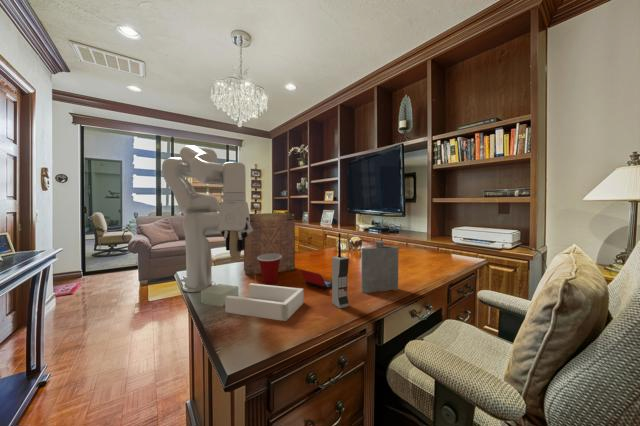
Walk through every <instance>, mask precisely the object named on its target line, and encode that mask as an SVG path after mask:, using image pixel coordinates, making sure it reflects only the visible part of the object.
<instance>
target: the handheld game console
mask: <svg viewBox="0 0 640 426" xmlns="http://www.w3.org/2000/svg"><path fill="white" fill-rule="evenodd" d="M300 273H301V275H302V277H303V279H304V281H305V284H306V285H309V286H311V287H317V288H318V289H321V290H324V291H327V290H330V289H331V290H332V281H329V280H325V279H324V278H323V276H322V275H321V274H320V273H317V272H314V271H313V272H312V271H309V270H305V269H300Z"/></svg>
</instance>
